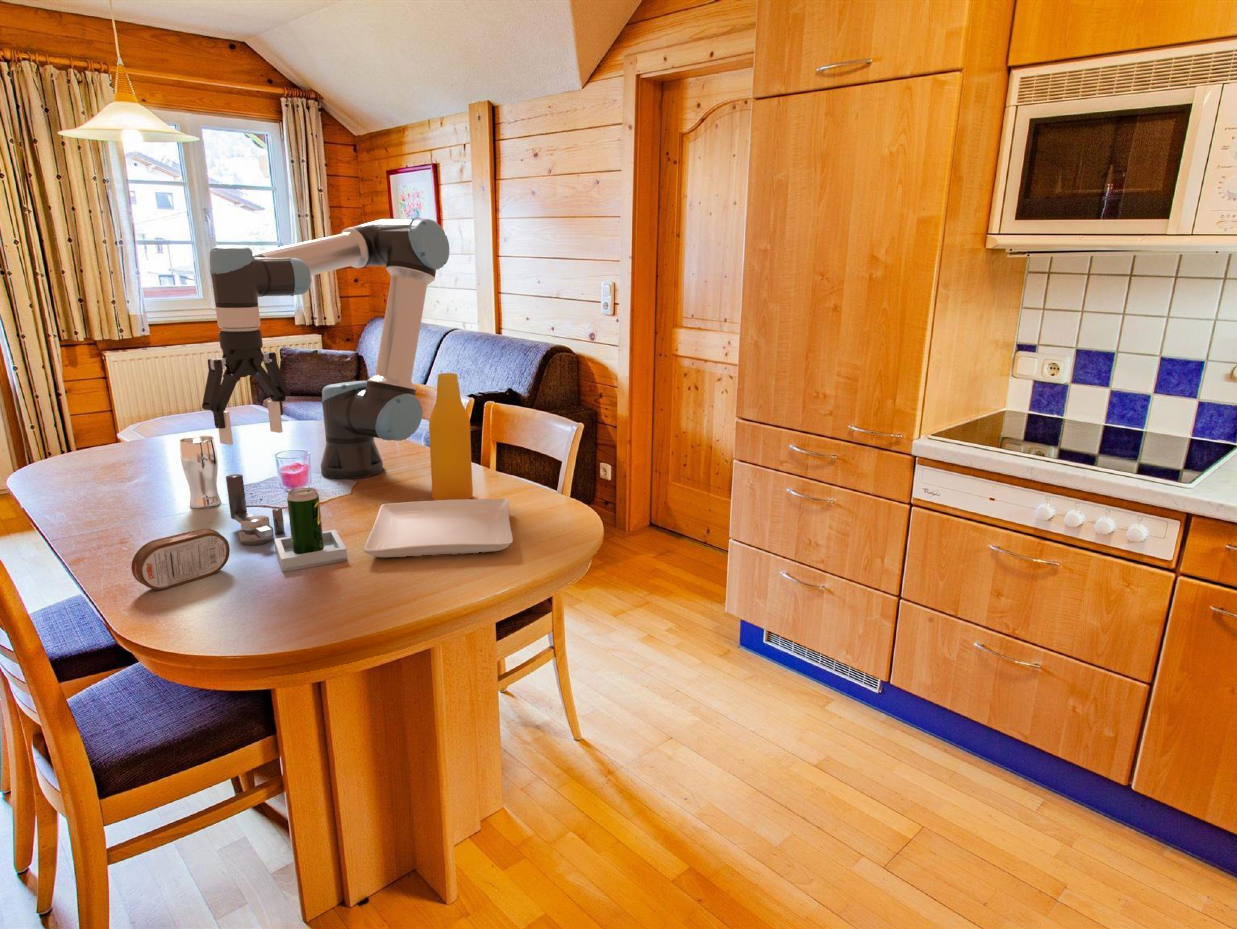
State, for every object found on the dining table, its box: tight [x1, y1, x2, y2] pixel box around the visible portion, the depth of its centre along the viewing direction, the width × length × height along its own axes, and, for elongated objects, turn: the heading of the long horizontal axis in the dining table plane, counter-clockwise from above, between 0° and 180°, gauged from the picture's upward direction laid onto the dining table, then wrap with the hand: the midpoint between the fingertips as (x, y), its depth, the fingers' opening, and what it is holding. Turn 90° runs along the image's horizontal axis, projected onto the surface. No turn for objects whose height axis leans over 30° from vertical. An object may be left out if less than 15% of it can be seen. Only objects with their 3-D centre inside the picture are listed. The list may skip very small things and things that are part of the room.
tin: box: [130, 527, 231, 591], centre depth 127 cm, size 15×3×8 cm, turn 142°
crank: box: [225, 473, 272, 537], centre depth 147 cm, size 16×5×9 cm, turn 45°
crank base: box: [238, 507, 285, 547], centre depth 144 cm, size 19×6×5 cm, turn 120°
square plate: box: [363, 497, 514, 558], centre depth 151 cm, size 27×27×4 cm
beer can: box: [286, 487, 324, 555], centre depth 138 cm, size 5×5×12 cm
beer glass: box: [179, 435, 222, 510], centre depth 164 cm, size 7×7×15 cm
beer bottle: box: [428, 372, 474, 501], centre depth 170 cm, size 9×9×29 cm
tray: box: [273, 529, 348, 573], centre depth 140 cm, size 11×11×2 cm
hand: (252, 437), depth 153 cm, fingers open, 11 cm apart
